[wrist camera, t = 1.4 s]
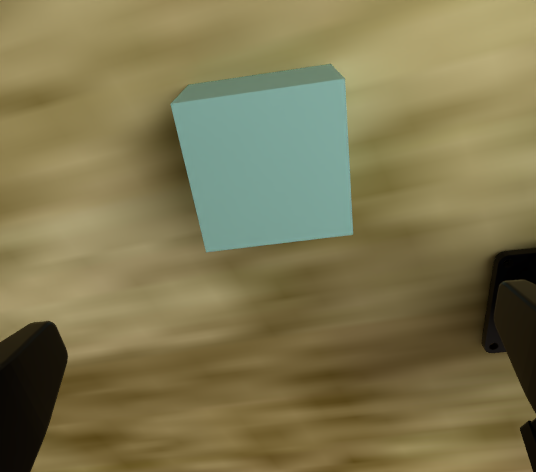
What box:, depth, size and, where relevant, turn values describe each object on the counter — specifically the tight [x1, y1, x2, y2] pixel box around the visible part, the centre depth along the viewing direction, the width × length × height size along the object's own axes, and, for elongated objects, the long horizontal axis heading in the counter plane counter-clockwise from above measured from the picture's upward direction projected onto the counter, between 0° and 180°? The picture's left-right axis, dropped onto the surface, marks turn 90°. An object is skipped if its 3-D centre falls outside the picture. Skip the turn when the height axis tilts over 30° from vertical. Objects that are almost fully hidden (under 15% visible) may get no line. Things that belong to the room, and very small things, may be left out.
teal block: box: [171, 64, 353, 252], centre depth 18 cm, size 6×6×4 cm
